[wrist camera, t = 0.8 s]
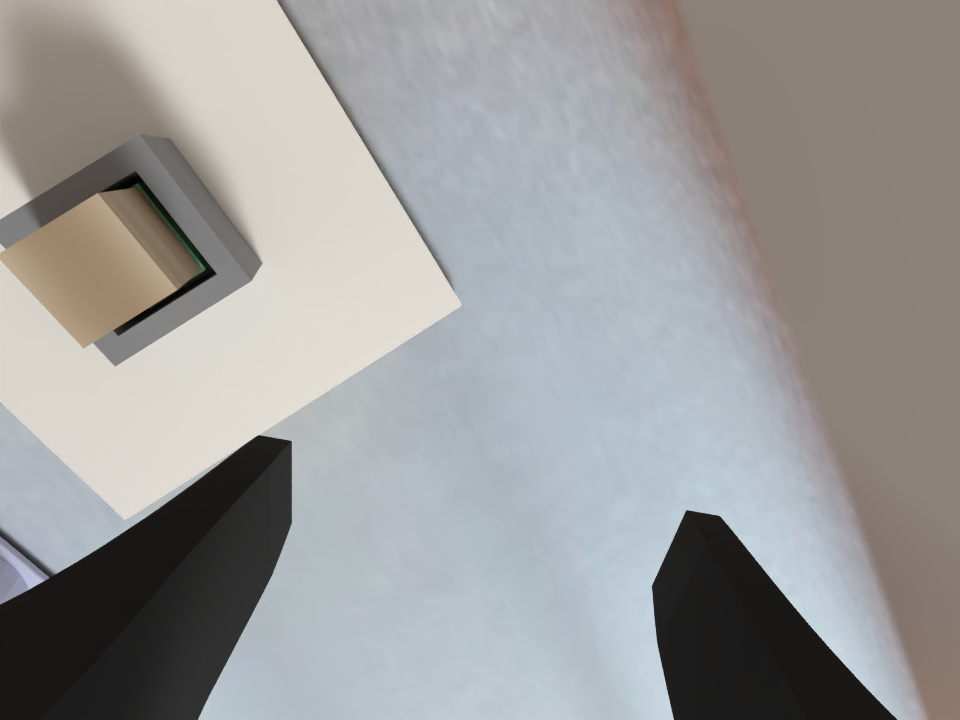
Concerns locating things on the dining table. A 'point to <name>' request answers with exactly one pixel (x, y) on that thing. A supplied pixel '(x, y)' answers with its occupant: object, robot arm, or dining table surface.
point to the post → (105, 261)
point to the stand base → (195, 233)
